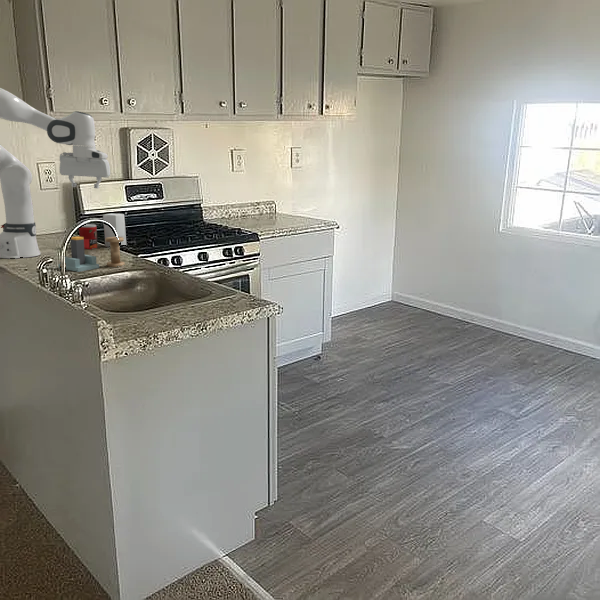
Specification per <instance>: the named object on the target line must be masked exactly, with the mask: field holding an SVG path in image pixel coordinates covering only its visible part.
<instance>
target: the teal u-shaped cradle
mask: <svg viewBox="0 0 600 600" xmlns="http://www.w3.org/2000/svg"><path fill="white" fill-rule="evenodd" d="M64 257H65V263H66V269H65V270H68V271H73V272H77V273H79V272H86V271H91V270H96V269H99V268H100V264H99V263H97V256H95V255H90V254H85V264H83V265H80V260H79V259H76V258H72V257H71V256H70V257H69V256H64ZM60 264H61V263H58V264H57V265H58V266H57V267H58V269H61V268H60Z"/></svg>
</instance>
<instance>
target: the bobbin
mask: <svg viewBox="0 0 600 600" xmlns="http://www.w3.org/2000/svg"><path fill="white" fill-rule="evenodd" d="M118 238H119V240H118V239H117V238H116V237H107V238H105V237H104V240H105V239H106V242H110V247H109V250H110V261H107V262H106V267H107V266H108V267H107V268H118V267H117V266H122V265H125V266H126V264H125V261H122V260H121V251H120V249H121V247H120V246H119V242H122V241H124V238H123V237H118Z"/></svg>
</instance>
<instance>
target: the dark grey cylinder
mask: <svg viewBox="0 0 600 600" xmlns="http://www.w3.org/2000/svg"><path fill="white" fill-rule="evenodd" d="M71 237H72V238H71V239H70V252H71V258H76V259H79V260H80V265H83V264H85V255H86V254H85V249H84V237H80V236H78V235H77V236H71Z"/></svg>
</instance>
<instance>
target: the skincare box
mask: <svg viewBox="0 0 600 600" xmlns="http://www.w3.org/2000/svg"><path fill="white" fill-rule="evenodd" d="M125 219H126V218H125V214H124V213H106V214H102V220H104V221H106V222H108V223H110V224H111V225H112V226H113V227H114V228H115V230H116V231H117V234H118V236H119V237H123V238H124V241H122V242H121V245H126V246H127V236H126V235H127V233H126V221H125ZM103 230H104V245H106V246H105V247H109V246H110V242H106V239H105V238H107V237H115V235H114V233H113V231H112V229H111V228H110V227H109V226H107V225H105V224H104V223H103Z"/></svg>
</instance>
